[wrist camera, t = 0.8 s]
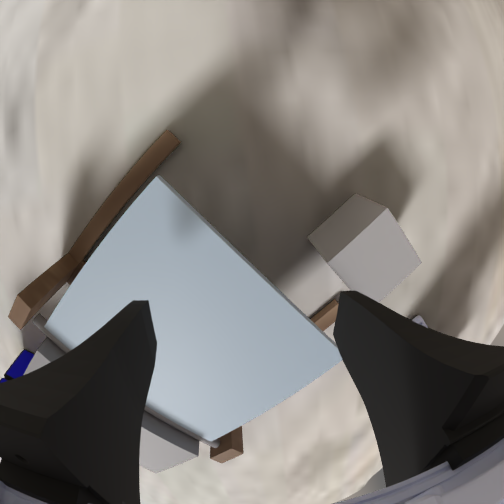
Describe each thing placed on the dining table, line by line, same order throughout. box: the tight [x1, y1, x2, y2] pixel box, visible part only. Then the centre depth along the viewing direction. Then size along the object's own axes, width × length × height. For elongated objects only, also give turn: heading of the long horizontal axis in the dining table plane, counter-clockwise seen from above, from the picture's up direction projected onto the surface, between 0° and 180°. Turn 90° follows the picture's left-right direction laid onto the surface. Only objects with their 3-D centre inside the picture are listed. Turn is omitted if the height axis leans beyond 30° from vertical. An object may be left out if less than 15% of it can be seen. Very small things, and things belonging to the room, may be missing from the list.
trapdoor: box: [23, 175, 342, 473], centre depth 16 cm, size 16×18×3 cm
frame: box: [8, 130, 339, 463], centre depth 18 cm, size 19×14×8 cm
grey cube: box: [307, 193, 422, 303], centre depth 19 cm, size 5×5×5 cm
